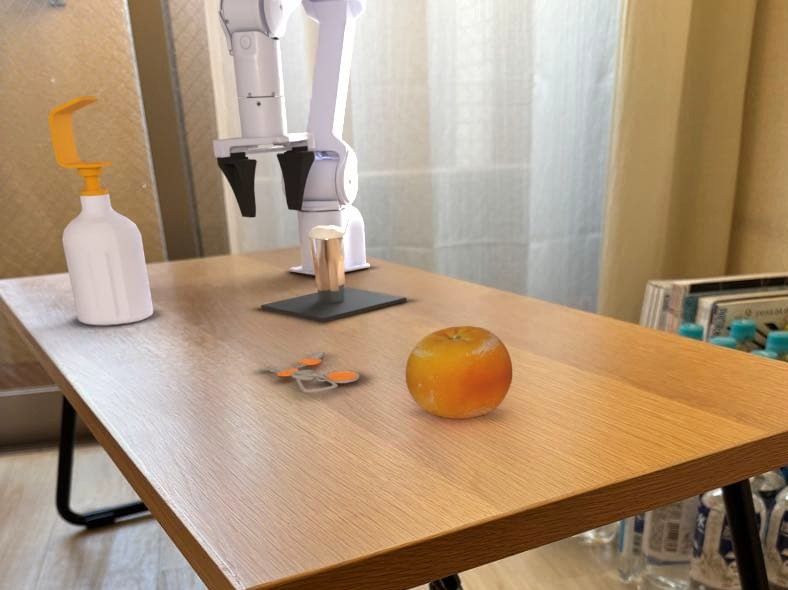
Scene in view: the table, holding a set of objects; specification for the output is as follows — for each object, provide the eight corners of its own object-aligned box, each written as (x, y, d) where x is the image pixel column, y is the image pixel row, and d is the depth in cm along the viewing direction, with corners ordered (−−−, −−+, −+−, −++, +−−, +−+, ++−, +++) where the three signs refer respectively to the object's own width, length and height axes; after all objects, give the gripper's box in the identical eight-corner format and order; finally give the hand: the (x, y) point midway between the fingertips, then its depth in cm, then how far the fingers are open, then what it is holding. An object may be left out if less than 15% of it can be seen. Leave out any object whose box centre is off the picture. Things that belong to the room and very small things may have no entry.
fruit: (371, 370, 74) (424, 290, 70) (438, 384, 80) (491, 311, 76) (424, 439, 70) (483, 358, 66) (490, 448, 76) (548, 374, 72)
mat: (344, 290, 121) (343, 286, 121) (406, 301, 113) (406, 297, 113) (260, 309, 112) (260, 304, 112) (322, 322, 105) (322, 318, 104)
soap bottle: (133, 327, 106) (93, 96, 95) (64, 326, 108) (17, 99, 97) (166, 310, 114) (133, 94, 103) (100, 309, 116) (61, 97, 104)
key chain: (372, 386, 81) (371, 376, 81) (294, 398, 79) (294, 389, 78) (326, 353, 92) (325, 345, 91) (256, 364, 89) (256, 355, 89)
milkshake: (348, 305, 110) (343, 220, 105) (308, 304, 111) (301, 220, 107) (360, 297, 114) (356, 214, 109) (321, 296, 115) (315, 215, 111)
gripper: (232, 99, 103) (245, 222, 110) (326, 94, 112) (334, 208, 119) (197, 100, 108) (212, 218, 114) (290, 95, 117) (300, 205, 123)
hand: (272, 213), depth 117 cm, fingers open, 7 cm apart
